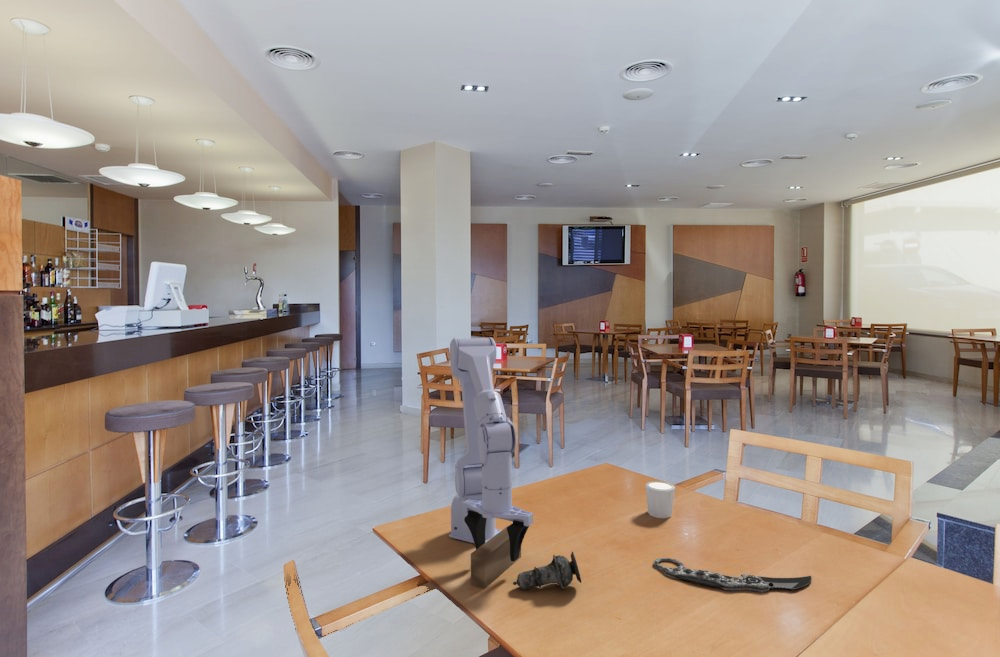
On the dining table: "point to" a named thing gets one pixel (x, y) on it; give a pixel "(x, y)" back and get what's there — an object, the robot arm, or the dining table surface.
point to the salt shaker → (550, 574)
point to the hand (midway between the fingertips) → (497, 554)
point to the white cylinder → (660, 499)
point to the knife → (730, 578)
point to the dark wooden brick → (491, 560)
